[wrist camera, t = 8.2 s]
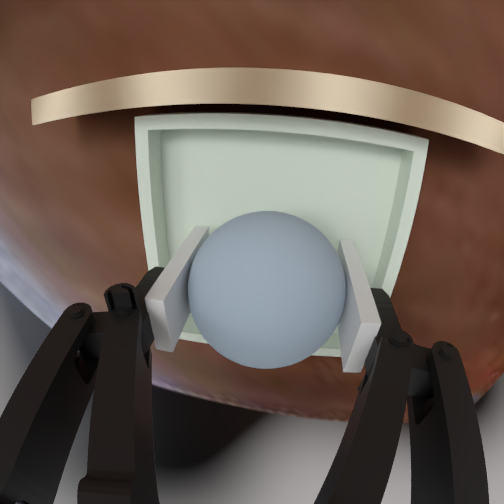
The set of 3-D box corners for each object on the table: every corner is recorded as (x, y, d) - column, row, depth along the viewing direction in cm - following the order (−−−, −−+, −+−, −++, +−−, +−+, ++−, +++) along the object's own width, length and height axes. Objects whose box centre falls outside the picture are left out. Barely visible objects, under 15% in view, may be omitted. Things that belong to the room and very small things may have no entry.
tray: (169, 317, 22) (160, 335, 20) (151, 113, 15) (134, 116, 13) (362, 338, 20) (366, 357, 19) (414, 134, 14) (429, 139, 12)
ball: (211, 296, 18) (176, 386, 12) (208, 186, 15) (151, 250, 9) (325, 308, 18) (332, 405, 12) (346, 198, 14) (381, 272, 8)
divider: (74, 115, 15) (32, 125, 12) (74, 93, 14) (31, 99, 11) (468, 141, 13) (507, 155, 9) (471, 116, 12) (511, 126, 9)
